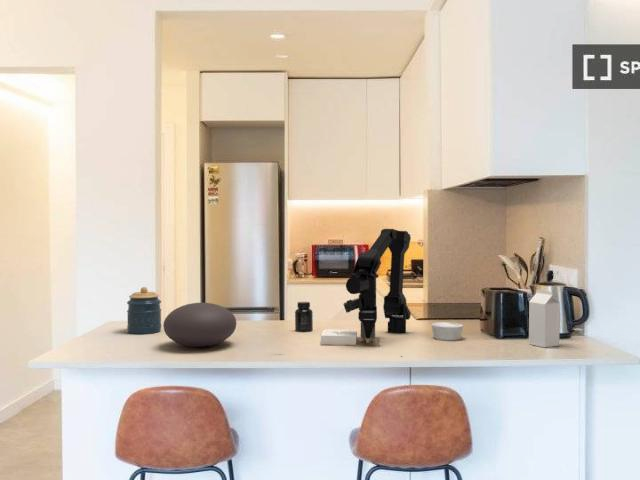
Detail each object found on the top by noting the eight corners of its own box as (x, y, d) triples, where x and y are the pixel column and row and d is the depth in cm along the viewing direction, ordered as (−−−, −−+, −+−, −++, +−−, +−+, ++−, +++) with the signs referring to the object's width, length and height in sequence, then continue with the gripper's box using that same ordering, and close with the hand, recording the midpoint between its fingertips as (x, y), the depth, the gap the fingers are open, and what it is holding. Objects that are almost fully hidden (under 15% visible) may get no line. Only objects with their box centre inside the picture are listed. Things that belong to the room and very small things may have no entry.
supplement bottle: (315, 332, 234) (315, 301, 234) (308, 335, 228) (307, 303, 228) (299, 331, 237) (299, 300, 237) (291, 333, 231) (291, 302, 231)
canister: (120, 333, 233) (119, 287, 233) (141, 328, 245) (141, 284, 245) (147, 335, 228) (147, 289, 228) (168, 330, 240) (167, 286, 240)
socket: (357, 338, 217) (357, 329, 217) (355, 344, 205) (355, 336, 205) (323, 337, 218) (323, 329, 218) (320, 344, 206) (320, 335, 206)
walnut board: (379, 340, 218) (379, 337, 218) (379, 349, 202) (379, 346, 202) (324, 339, 220) (324, 336, 220) (320, 348, 204) (320, 345, 204)
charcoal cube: (375, 340, 213) (375, 321, 213) (375, 343, 208) (375, 323, 208) (360, 340, 213) (361, 321, 213) (360, 342, 208) (360, 323, 208)
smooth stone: (158, 342, 215) (158, 300, 215) (226, 336, 225) (226, 297, 225) (169, 356, 193) (169, 309, 192) (245, 349, 203) (245, 305, 202)
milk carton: (544, 348, 204) (545, 292, 204) (528, 344, 210) (529, 290, 210) (559, 346, 207) (560, 291, 207) (543, 342, 214) (543, 289, 213)
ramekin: (468, 338, 222) (468, 324, 222) (452, 342, 214) (452, 328, 214) (442, 334, 230) (442, 320, 230) (425, 338, 222) (425, 324, 221)
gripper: (346, 288, 220) (346, 330, 221) (343, 294, 202) (343, 340, 202) (376, 288, 219) (376, 331, 220) (376, 294, 201) (376, 341, 201)
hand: (367, 335), depth 211 cm, fingers open, 9 cm apart
